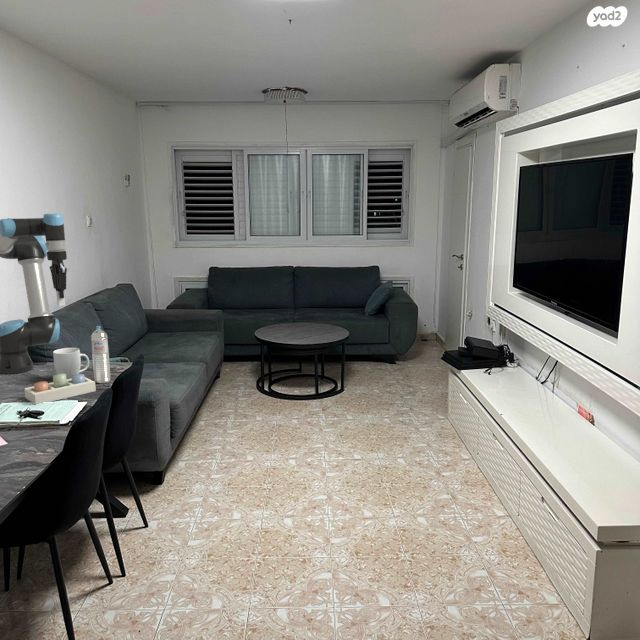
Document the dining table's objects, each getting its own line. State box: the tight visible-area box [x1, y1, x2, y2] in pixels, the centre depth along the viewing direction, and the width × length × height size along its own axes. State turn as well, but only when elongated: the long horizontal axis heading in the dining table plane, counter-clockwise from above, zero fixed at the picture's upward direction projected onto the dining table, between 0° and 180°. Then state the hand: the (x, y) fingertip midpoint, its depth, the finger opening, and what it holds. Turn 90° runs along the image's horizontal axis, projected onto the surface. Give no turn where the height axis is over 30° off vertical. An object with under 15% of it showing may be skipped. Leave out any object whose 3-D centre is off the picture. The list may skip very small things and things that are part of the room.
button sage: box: [52, 373, 67, 388], centre depth 237 cm, size 5×5×5 cm
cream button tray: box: [23, 376, 97, 405], centre depth 238 cm, size 12×24×4 cm, turn 135°
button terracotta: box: [33, 380, 48, 393], centre depth 232 cm, size 5×5×5 cm
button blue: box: [72, 373, 86, 384], centre depth 243 cm, size 5×5×5 cm
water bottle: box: [90, 325, 111, 384], centre depth 253 cm, size 7×7×25 cm
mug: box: [52, 347, 90, 380], centre depth 260 cm, size 15×11×13 cm
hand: (61, 305), depth 248 cm, fingers closed
